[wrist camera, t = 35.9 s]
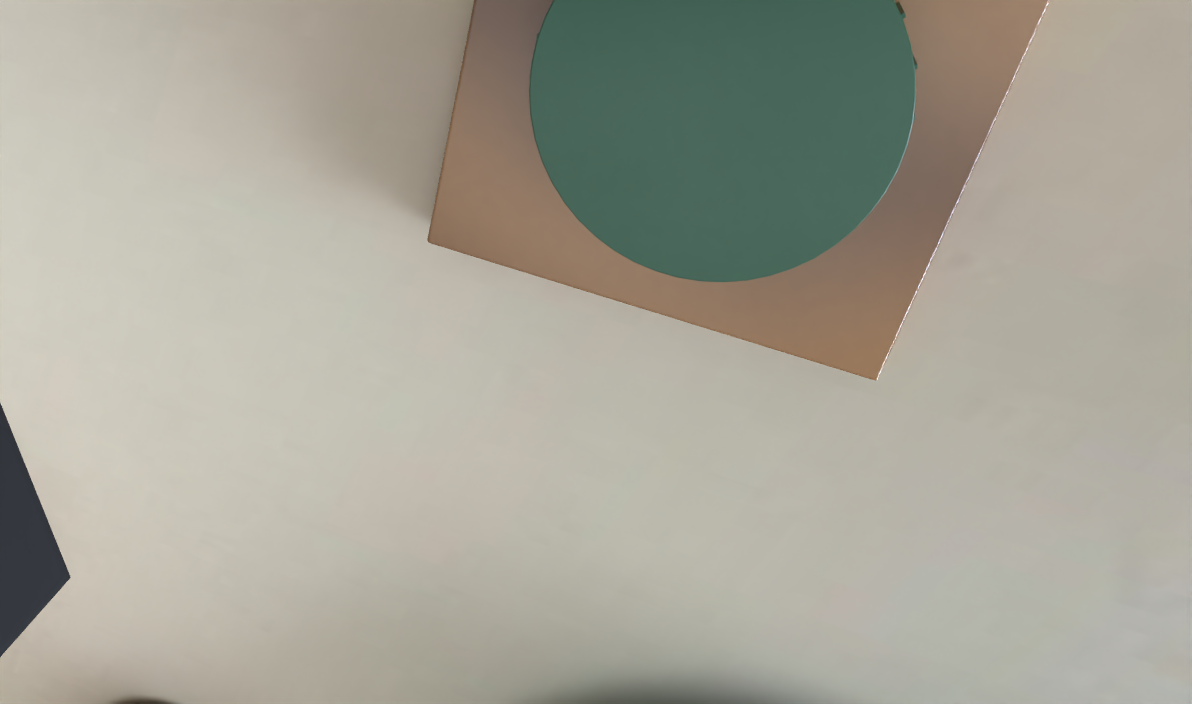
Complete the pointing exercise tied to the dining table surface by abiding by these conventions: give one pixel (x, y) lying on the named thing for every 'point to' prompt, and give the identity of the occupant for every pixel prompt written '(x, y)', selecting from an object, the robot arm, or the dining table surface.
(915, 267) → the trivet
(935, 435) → the dining table surface
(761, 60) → the jar lid
